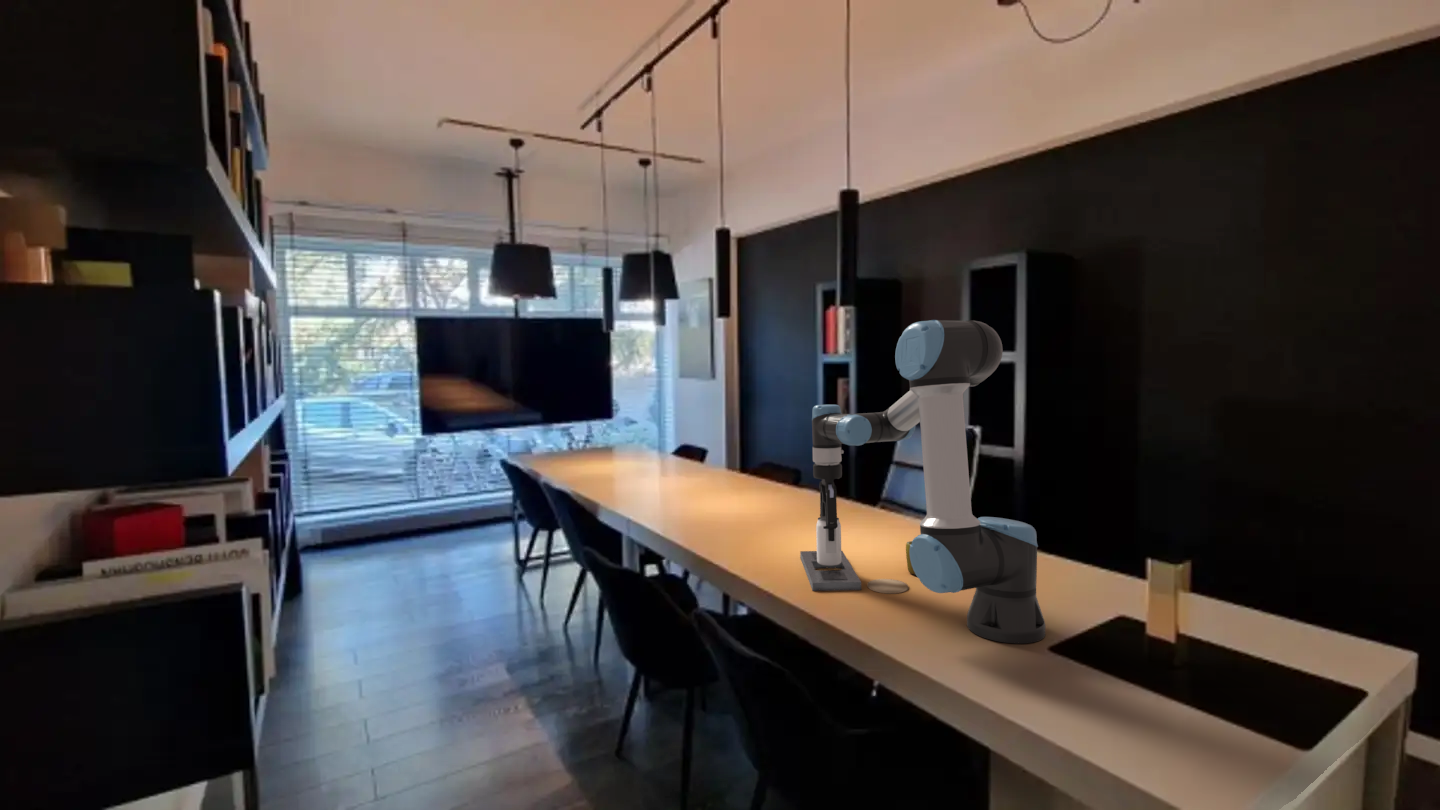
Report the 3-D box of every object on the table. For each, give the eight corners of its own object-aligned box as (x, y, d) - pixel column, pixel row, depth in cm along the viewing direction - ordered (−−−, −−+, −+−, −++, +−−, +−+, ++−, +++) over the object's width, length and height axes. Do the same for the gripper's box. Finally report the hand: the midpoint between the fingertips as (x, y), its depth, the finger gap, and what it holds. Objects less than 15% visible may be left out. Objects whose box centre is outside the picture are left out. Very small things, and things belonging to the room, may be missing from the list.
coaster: (913, 593, 167) (913, 591, 167) (871, 594, 168) (871, 592, 167) (902, 580, 177) (902, 578, 177) (863, 580, 177) (863, 579, 177)
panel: (861, 590, 171) (861, 581, 170) (812, 590, 171) (812, 582, 171) (842, 557, 198) (842, 550, 198) (800, 558, 199) (800, 550, 198)
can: (813, 564, 183) (812, 520, 182) (821, 558, 188) (820, 515, 188) (837, 567, 180) (836, 522, 179) (844, 561, 185) (843, 517, 185)
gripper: (848, 468, 173) (849, 558, 174) (835, 457, 192) (837, 539, 193) (818, 468, 173) (819, 559, 174) (808, 458, 192) (810, 540, 194)
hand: (829, 548), depth 184 cm, fingers closed on can, 6 cm apart
